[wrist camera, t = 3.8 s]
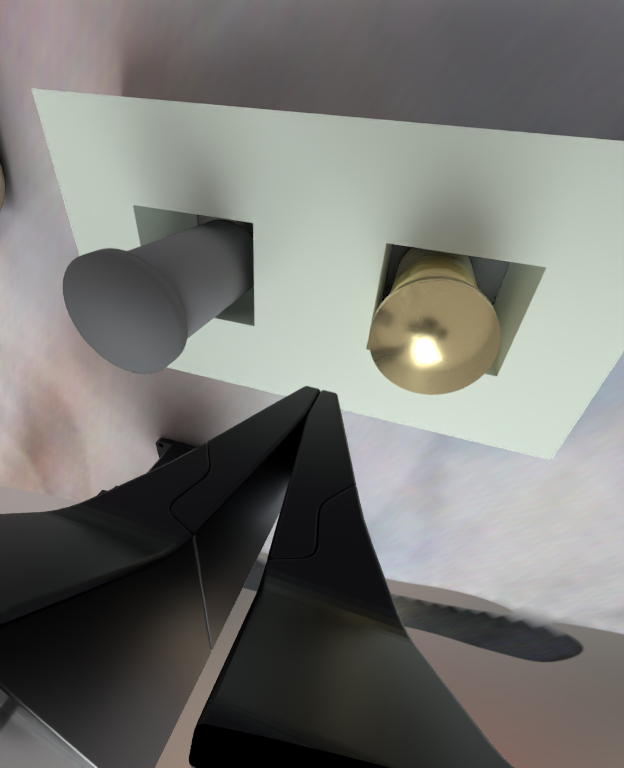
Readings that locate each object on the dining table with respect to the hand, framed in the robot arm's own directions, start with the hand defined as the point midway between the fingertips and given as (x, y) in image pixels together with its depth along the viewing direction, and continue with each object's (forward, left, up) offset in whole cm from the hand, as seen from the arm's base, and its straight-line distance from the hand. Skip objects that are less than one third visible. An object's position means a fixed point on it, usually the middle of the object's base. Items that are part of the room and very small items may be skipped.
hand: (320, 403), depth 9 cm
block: (0, +2, -12) cm, 12 cm away
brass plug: (0, -3, -12) cm, 12 cm away
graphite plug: (0, +7, -9) cm, 12 cm away
